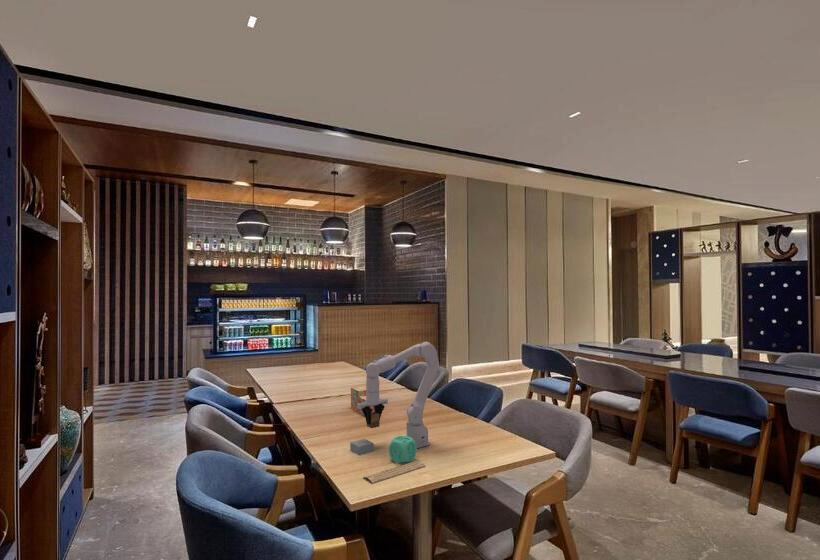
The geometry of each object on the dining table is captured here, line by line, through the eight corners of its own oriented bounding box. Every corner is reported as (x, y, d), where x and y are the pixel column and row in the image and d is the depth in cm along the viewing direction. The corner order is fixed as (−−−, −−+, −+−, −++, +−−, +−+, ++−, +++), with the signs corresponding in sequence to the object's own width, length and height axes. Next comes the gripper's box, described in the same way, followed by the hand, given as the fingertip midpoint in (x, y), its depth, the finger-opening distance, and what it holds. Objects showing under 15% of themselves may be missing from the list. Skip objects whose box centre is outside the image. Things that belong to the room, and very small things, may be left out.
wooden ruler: (372, 486, 145) (372, 480, 145) (361, 479, 151) (361, 474, 151) (425, 468, 159) (425, 463, 159) (414, 463, 165) (414, 458, 165)
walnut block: (379, 426, 183) (379, 413, 183) (371, 428, 181) (371, 415, 181) (374, 424, 186) (374, 411, 186) (366, 426, 184) (366, 413, 184)
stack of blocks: (375, 415, 229) (375, 392, 230) (364, 417, 226) (364, 394, 227) (360, 407, 248) (360, 385, 248) (350, 408, 245) (350, 386, 245)
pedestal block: (373, 451, 176) (373, 443, 177) (359, 455, 172) (359, 446, 172) (364, 446, 182) (364, 438, 182) (350, 450, 178) (350, 442, 178)
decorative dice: (401, 454, 172) (401, 434, 172) (417, 459, 167) (417, 438, 167) (388, 460, 166) (388, 439, 166) (404, 465, 161) (403, 443, 161)
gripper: (381, 387, 192) (381, 417, 191) (353, 392, 183) (353, 424, 182) (390, 390, 186) (390, 421, 186) (362, 395, 177) (362, 427, 177)
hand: (373, 423), depth 183 cm, fingers closed on walnut block, 4 cm apart
